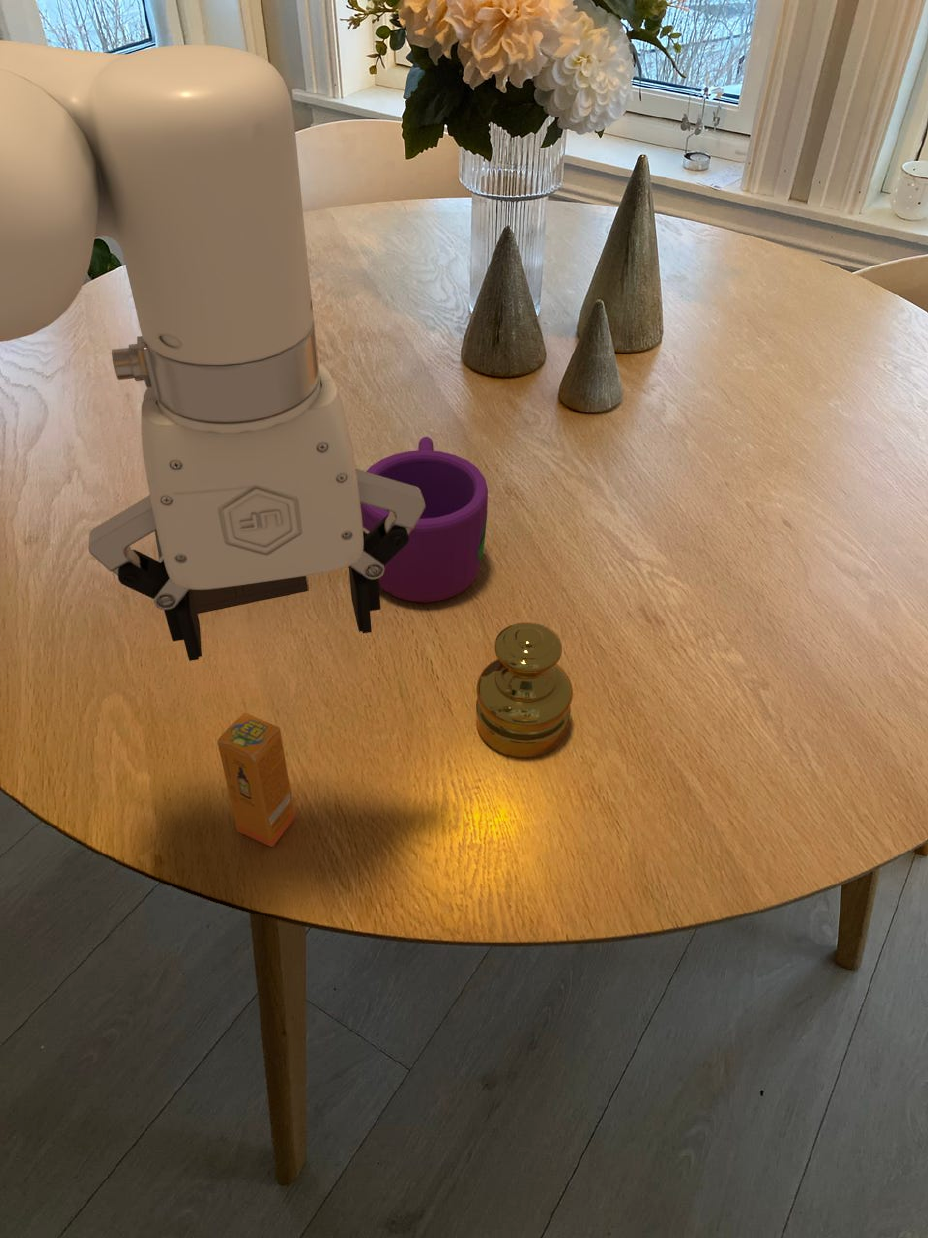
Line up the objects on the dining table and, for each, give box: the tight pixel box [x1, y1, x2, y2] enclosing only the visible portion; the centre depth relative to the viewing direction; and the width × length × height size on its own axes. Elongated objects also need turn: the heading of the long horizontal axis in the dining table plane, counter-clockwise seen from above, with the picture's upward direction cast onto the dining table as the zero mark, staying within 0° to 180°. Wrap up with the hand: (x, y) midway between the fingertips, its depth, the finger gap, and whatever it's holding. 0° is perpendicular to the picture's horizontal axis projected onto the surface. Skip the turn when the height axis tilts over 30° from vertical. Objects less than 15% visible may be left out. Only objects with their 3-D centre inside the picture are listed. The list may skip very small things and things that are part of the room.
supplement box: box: [217, 712, 296, 848], centre depth 66 cm, size 3×3×10 cm
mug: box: [360, 436, 489, 603], centre depth 89 cm, size 17×11×10 cm, turn 0°
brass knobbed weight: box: [475, 621, 574, 758], centre depth 73 cm, size 7×7×10 cm
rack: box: [154, 530, 308, 614], centre depth 89 cm, size 12×12×5 cm
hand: (279, 629), depth 56 cm, fingers open, 9 cm apart
